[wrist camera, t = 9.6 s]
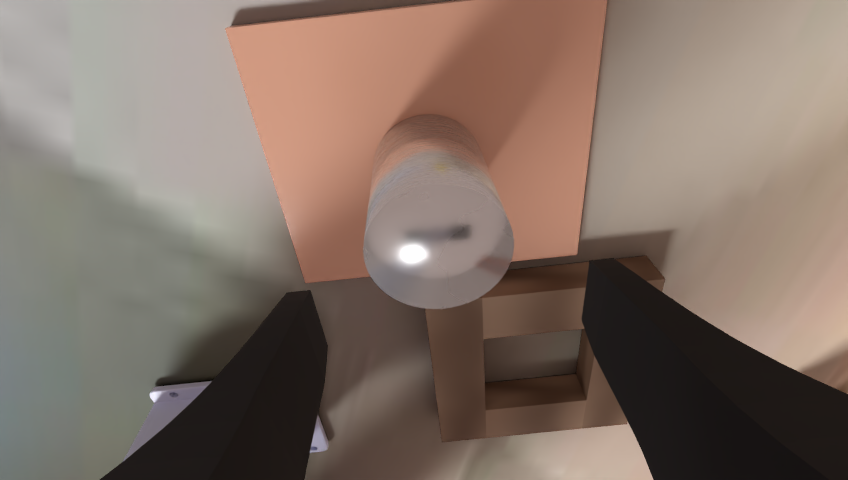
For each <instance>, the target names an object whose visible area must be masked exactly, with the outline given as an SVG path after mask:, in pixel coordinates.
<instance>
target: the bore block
mask: <svg viewBox="0 0 848 480" xmlns="http://www.w3.org/2000/svg"><path fill="white" fill-rule="evenodd" d="M615 260H617V261H618V262H620V263H621V264H623V265H624V266H626V267H627V268H629V269H630V270H631V271H633V272H634V273H636V274H637V275H639V276H640V277H641V278H643V279H644V280H646V281H647V282H648V283H650V284H651V285H653V286H654V287H655V288H657V289H658V290H660V291H661V292H662V289H663V286H664V282H665V278H664V277H663V276H662V274H661V273H660V272H659V271H658V270H657V268H656V267H655V266H654V265H653V263H652V262H651V261H650V260H649V258H648V257H647V256H639V257H629V258H620V259H615ZM588 268H589V262H581V263H572V264H562V265H553V266H543V267H534V268H524V269H514V270H507V271H506V273H505V274H504V276H503V277H502V279H501V280H500V281H499V282H498V283H497V284H496V285H495V286H494V287H493V288H492V289H491V290H490V291H488V292H487V293H486V294H484V295H483V296H481V297H479V298H477V299H476V300H473V301H471V302H469V303H466V304H463V305H460V306H456V307H452V308H444V309H425V313H426V321H427V329H428V336H429V344H430V352H431V360H432V368H433V376H434V384H435V392H436V399H437V407H438V415H439V423H440V431H441V439H442V442H450V441H460V440H470V439H480V438H490V437H500V436H510V435H520V434H530V433H541V432H551V431H561V430H571V429H581V428H591V427H601V426H611V425H622V424H627V419H626V417H625V415H624V413H623V411H622V409H621V407H620V405H619V403H618V401H617V399H616V397H615V395H614V393H613V392H612V390H611V388H610V386H609V384H608V382H607V380H606V378H605V376H604V374H603V372H602V370H601V368H600V366H599V364H598V362H597V360H596V358H595V356H594V354H593V351H592V348H591V346H590V343H589V340H588V337H587V335H586V332H585V329H584V326H583V323H582V320H581V319H582V311H583V304H584V297H585V290H586V282H587V275H588ZM577 329H582V334H581V341H580V348H579V355H578V362H577V369H576V374H570V375H560V376H550V377H541V378H531V379H521V380H511V381H501V382H491V383H485V374H484V341H483V339H489V338H499V337H508V336H518V335H528V334H538V333H548V332H557V331H567V330H577Z"/></svg>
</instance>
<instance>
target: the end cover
mask: <svg viewBox="0 0 848 480" xmlns="http://www.w3.org/2000/svg"><path fill="white" fill-rule="evenodd" d="M513 251H514V237H513V231H512V228H511V225H510V222H509V220H508V217H507V215H506V212H505V210H504V207H503V205H502V202H501V200H500V197H499V195H498V192H497V190H496V187H495V185H494V182H493V180H492V177H491V175H490V172H489V170H488V167H487V165H486V162H485V160H484V157H483V155H482V152H481V150H480V147H479V145H478V143H477V141H476V139H475V137H474V136H473V135H472V133H471V132H470V131H469V130H468V129H467V128H466V127H465V126H463V125H462V124H461V123H459V122H457V121H456V120H454V119H451V118H449V117H446V116H442V115H436V114H423V115H417V116H413V117H410V118H407V119H405V120H403V121H401V122H399V123H397V124H396V125H395V126H393V127H392V128H391V129H390V130H389V131H388V132H387V133H386V134H385V135H384V137H383V138H382V139H381V141H380V143H379V145H378V147H377V150H376V153H375V157H374V164H373V172H372V180H371V188H370V196H369V204H368V212H367V220H366V228H365V236H364V246H363V255H364V261H365V265H366V268H367V270H368V273H369V275H370V276H371V278H372V279H373V281H374V282H375V283H376V285H377V286H378V287H379V288H380V289H381V290H382V291H384V292H385V293H386V294H387V295H389V296H390V297H392V298H394V299H396V300H397V301H399V302H402V303H404V304H407V305H410V306H414V307H419V308H425V309H444V308H452V307H456V306H460V305H463V304H466V303H469V302H471V301H473V300H476V299H477V298H479V297H481V296H483V295H484V294H486V293H487V292H488V291H490V290H491V289H492V288H493V287H494V286H495V285H496V284H497V283H498V282H499V281H500V280H501V279H502V277H503V276H504V274H505V273H506V271H507V269H508V267H509V265H510V263H511V260H512V257H513Z"/></svg>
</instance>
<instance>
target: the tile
mask: <svg viewBox="0 0 848 480" xmlns="http://www.w3.org/2000/svg"><path fill="white" fill-rule="evenodd" d="M606 7H607V0H455V1H447V2H438V3H429V4H420V5H411V6H403V7H394V8H385V9H376V10H367V11H358V12H350V13H341V14H332V15H323V16H314V17H306V18H297V19H288V20H279V21H270V22H261V23H253V24H244V25H235V26H229V27H227V28H225V30H226V33H227V36H228V39H229V42H230V45H231V49H232V52H233V55H234V58H235V61H236V64H237V68H238V71H239V74H240V77H241V80H242V83H243V87H244V90H245V93H246V96H247V99H248V102H249V106H250V109H251V112H252V115H253V118H254V122H255V125H256V128H257V131H258V134H259V137H260V141H261V144H262V147H263V150H264V153H265V156H266V160H267V163H268V166H269V169H270V172H271V175H272V179H273V182H274V185H275V188H276V191H277V194H278V198H279V201H280V204H281V207H282V210H283V213H284V217H285V220H286V223H287V226H288V229H289V232H290V236H291V239H292V242H293V245H294V248H295V252H296V255H297V258H298V261H299V264H300V267H301V271H302V274H303V277H304V280H305V283H313V282H322V281H332V280H342V279H351V278H361V277H370V275H369V273H368V270H367V268H366V265H365V261H364V255H363V246H364V236H365V228H366V220H367V212H368V204H369V196H370V188H371V180H372V172H373V164H374V157H375V153H376V150H377V147H378V145H379V143H380V141H381V139H382V138H383V137H384V135H385V134H386V133H387V132H388V131H389V130H390V129H391V128H392V127H393V126H395V125H396V124H397V123H399V122H401V121H403V120H405V119H407V118H410V117H413V116H417V115H423V114H436V115H442V116H446V117H449V118H451V119H454V120H456V121H457V122H459V123H461V124H462V125H463V126H465V127H466V128H467V129H468V130H469V131H470V132H471V133H472V135H473V136H474V137H475V139H476V141H477V143H478V145H479V147H480V150H481V152H482V155H483V157H484V160H485V162H486V165H487V167H488V170H489V172H490V175H491V177H492V180H493V182H494V185H495V187H496V190H497V192H498V195H499V197H500V200H501V202H502V205H503V207H504V210H505V212H506V215H507V217H508V220H509V222H510V225H511V228H512V231H513V237H514V251H513V257H512V260H511V262H514V261H523V260H533V259H542V258H552V257H561V256H571V255H577V250H578V242H579V234H580V225H581V217H582V208H583V200H584V192H585V183H586V175H587V166H588V158H589V150H590V141H591V133H592V124H593V116H594V108H595V99H596V91H597V82H598V74H599V66H600V57H601V49H602V40H603V32H604V24H605V15H606Z"/></svg>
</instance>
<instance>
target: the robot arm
mask: <svg viewBox="0 0 848 480" xmlns="http://www.w3.org/2000/svg"><path fill="white" fill-rule="evenodd" d="M581 320H582V323H583V326H584V329H585V332H586V335H587V337H588V340H589V343H590V346H591V348H592V351H593V354H594V356H595V358H596V360H597V362H598V364H599V366H600V368H601V370H602V372H603V374H604V376H605V378H606V380H607V382H608V384H609V386H610V388H611V390H612V392H613V393H614V395H615V397H616V399H617V401H618V403H619V405H620V407H621V409H622V411H623V413H624V415H625V417H626V419H627V421H628V423H629V425H630V426H631V428H632V430H633V432H634V434H635V437H636V439H637V441H638V443H639V445H640V447H641V449H642V452H643V454H644V457H645V459H646V462H647V464H648V467H649V469H650V472H651V474H652V477H653V479H654V480H848V394H846V393H844V392H841V391H839V390H837V389H835V388H832V387H830V386H828V385H826V384H824V383H822V382H819V381H817V380H815V379H813V378H811V377H808V376H806V375H804V374H802V373H800V372H798V371H796V370H794V369H792V368H789V367H787V366H785V365H783V364H781V363H779V362H777V361H776V360H774V359H772V358H770V357H768V356H766V355H764V354H762V353H760V352H759V351H757V350H755V349H753V348H751V347H749V346H747V345H745V344H744V343H742V342H740V341H738V340H737V339H735V338H733V337H731V336H730V335H728V334H726V333H725V332H723V331H721V330H720V329H718V328H716V327H715V326H713V325H711V324H710V323H708V322H707V321H705V320H703V319H702V318H700V317H699V316H697V315H695V314H694V313H692V312H691V311H689V310H688V309H686V308H685V307H683V306H682V305H680V304H679V303H677V302H676V301H674V300H673V299H671V298H670V297H668V296H667V295H666V294H664V293H663V292H661V291H660V290H658V289H657V288H655V287H654V286H653V285H651V284H650V283H648V282H647V281H646V280H644V279H643V278H641V277H640V276H639V275H637V274H636V273H634V272H633V271H631V270H630V269H629V268H627V267H626V266H624V265H623V264H621V263H620V262H618V261H617V260H615V259H614V258H611V259H601V260H592V261H589V268H588V275H587V282H586V290H585V297H584V304H583V311H582V319H581ZM327 348H328V345H327V342H326V339H325V336H324V333H323V329H322V326H321V323H320V320H319V317H318V313H317V310H316V307H315V304H314V301H313V297H312V294H311V291H310V290H307V291H298V292H288V293H286V295H285V296H284V297H283V298H282V299H281V301H280V302H279V303H278V304H277V305H276V307H275V308H274V309H273V310H272V312H271V313H270V314H269V315H268V317H267V318H266V319H265V320H264V322H263V323H262V324H261V325H260V327H259V328H258V329H257V330H256V332H255V333H254V334H253V335H252V336H251V338H250V339H249V340H248V341H247V342H246V344H245V345H244V346H243V347H242V348H241V349H240V351H239V352H238V353H237V354H236V355H235V357H234V358H233V359H232V360H231V361H230V362H229V363H228V364H227V365H226V366H225V368H224V369H223V370H222V371H221V372H220V373H219V374H218V375H217V376H216V377H215V379H214V380H213V381H207V382H197V383H187V384H177V385H167V386H157V387H154V388H153V389H152V390H151V392H150V394H149V395H150V397H151V399H152V400H153V402H154V405H153V407H152V409H151V410H150V412H149V414H148V416H147V418H146V420H145V421H144V423H143V425H142V427H141V429H140V431H139V432H138V434H137V436H136V438H135V440H134V442H133V444H132V445H131V447H130V449H129V451H128V453H127V455H126V456H125V458H124V460H123V462H122V463H121V464H119V465H118V466H117V467H116V468H114V469H113V470H112V471H110V472H109V473H108V474H106V475H105V476H104V477H103V478H101V479H100V480H304V479H305V473H306V468H307V463H308V458H309V453H312V452H322V451H325V450H327V449H328V445H329V442H328V440H327V437H326V434H325V432H324V429H323V426H322V424H321V421H320V418H319V416H318V412H319V407H320V402H321V397H322V393H323V388H324V383H325V373H326V361H327Z"/></svg>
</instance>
